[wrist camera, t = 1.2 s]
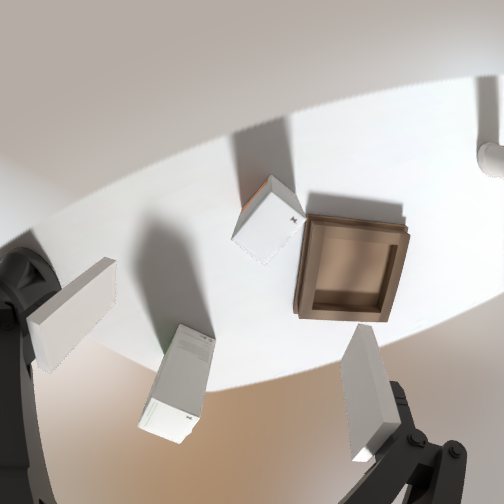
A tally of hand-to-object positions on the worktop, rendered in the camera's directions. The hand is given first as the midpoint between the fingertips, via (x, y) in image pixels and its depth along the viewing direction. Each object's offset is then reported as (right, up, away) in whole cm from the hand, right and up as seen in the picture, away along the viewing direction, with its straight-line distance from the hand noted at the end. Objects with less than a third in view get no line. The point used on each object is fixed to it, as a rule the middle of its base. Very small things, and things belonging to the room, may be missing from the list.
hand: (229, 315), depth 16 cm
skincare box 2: (+3, +9, +24) cm, 26 cm away
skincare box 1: (-9, -12, +32) cm, 36 cm away
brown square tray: (+14, +1, +26) cm, 30 cm away
